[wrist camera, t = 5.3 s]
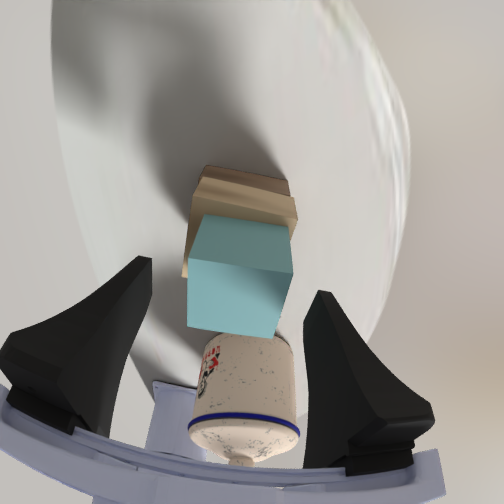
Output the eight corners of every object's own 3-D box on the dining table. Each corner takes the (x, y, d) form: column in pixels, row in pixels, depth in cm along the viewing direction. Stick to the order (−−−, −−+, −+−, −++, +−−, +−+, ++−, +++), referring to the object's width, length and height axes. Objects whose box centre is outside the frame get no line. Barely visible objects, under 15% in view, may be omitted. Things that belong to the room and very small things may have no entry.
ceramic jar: (199, 320, 25) (173, 448, 16) (304, 329, 25) (314, 457, 16) (204, 387, 32) (191, 479, 22) (282, 393, 32) (283, 486, 22)
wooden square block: (269, 245, 21) (269, 267, 19) (198, 232, 20) (190, 252, 18) (287, 179, 18) (290, 195, 16) (207, 163, 18) (198, 177, 16)
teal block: (272, 289, 16) (272, 338, 14) (200, 278, 16) (187, 326, 13) (288, 226, 14) (293, 273, 11) (204, 213, 14) (188, 257, 11)
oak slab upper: (269, 268, 19) (269, 295, 17) (190, 251, 18) (181, 277, 16) (293, 197, 16) (297, 219, 14) (202, 176, 15) (192, 195, 13)
